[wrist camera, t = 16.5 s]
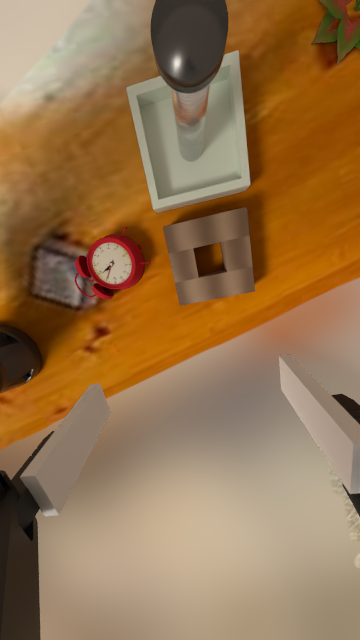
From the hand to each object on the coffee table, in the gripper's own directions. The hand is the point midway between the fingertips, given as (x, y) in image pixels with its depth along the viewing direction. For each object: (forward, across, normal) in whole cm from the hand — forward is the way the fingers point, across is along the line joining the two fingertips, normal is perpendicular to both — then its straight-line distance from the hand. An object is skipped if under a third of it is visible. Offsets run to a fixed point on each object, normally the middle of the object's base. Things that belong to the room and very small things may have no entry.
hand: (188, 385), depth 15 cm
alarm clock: (+29, -14, +9) cm, 34 cm away
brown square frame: (+29, +5, +7) cm, 30 cm away
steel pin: (+28, +5, +25) cm, 38 cm away
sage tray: (+29, +5, +25) cm, 38 cm away
